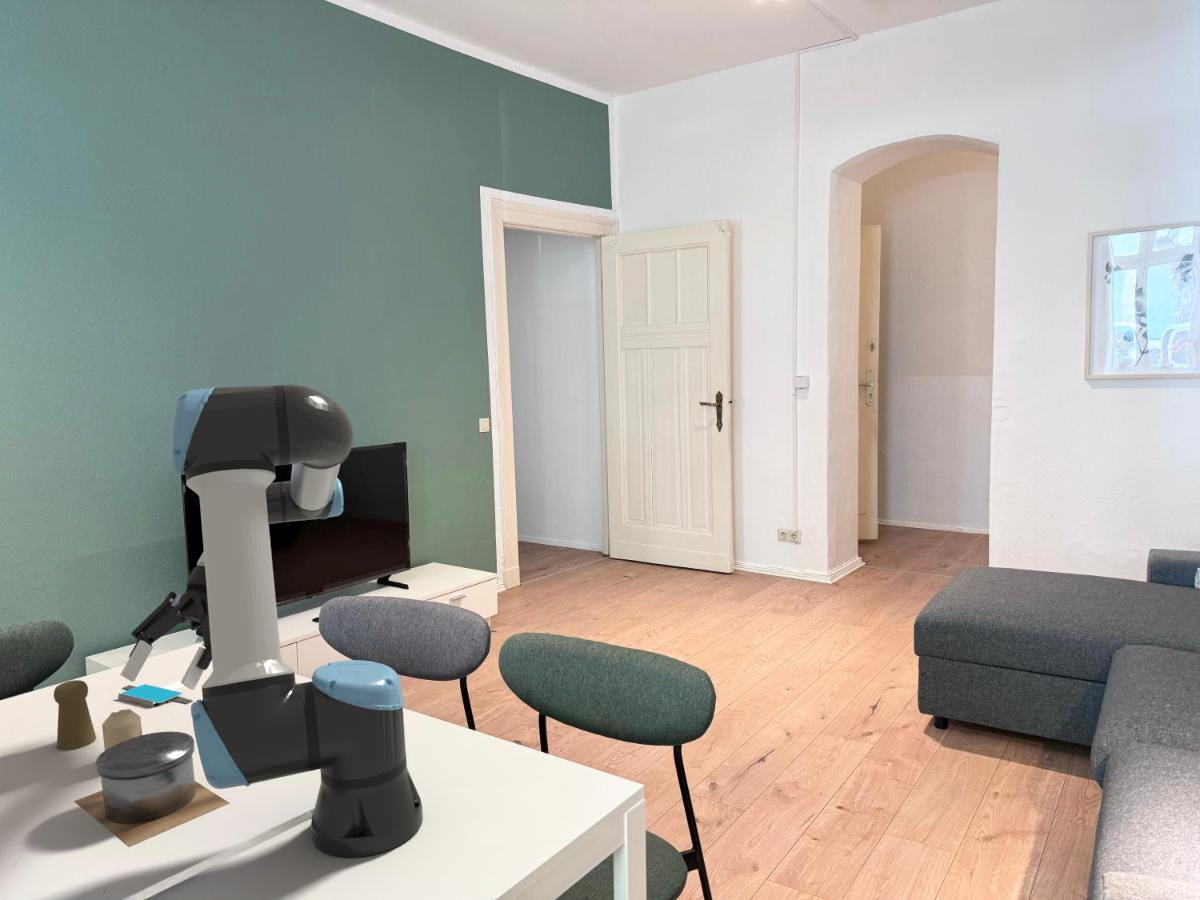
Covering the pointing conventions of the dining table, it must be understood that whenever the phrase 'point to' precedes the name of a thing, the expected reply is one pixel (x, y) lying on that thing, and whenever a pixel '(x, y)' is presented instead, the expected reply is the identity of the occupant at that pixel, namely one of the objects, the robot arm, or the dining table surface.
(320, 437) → the robot arm
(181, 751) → the round metal tin
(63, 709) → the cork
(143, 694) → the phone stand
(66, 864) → the dining table surface
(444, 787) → the dining table surface
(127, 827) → the wooden board
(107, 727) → the candle
